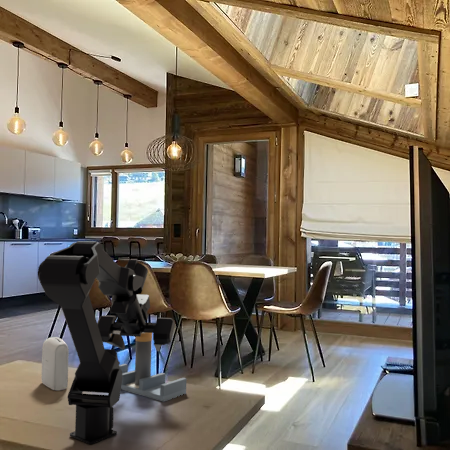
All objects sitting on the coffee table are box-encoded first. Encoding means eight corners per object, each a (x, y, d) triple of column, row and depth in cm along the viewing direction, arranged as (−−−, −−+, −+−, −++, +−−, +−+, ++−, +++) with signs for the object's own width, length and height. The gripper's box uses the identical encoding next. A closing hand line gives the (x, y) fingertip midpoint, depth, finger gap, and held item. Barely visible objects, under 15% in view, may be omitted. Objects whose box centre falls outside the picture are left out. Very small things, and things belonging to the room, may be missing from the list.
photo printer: (39, 382, 125) (40, 335, 125) (55, 380, 127) (56, 333, 128) (52, 392, 117) (54, 341, 117) (69, 389, 120) (71, 340, 120)
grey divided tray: (163, 401, 111) (164, 385, 111) (101, 383, 125) (101, 369, 125) (186, 393, 118) (186, 378, 118) (124, 377, 131) (124, 363, 131)
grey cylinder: (148, 386, 119) (150, 334, 120) (132, 385, 119) (133, 333, 120) (152, 381, 123) (153, 331, 124) (136, 380, 124) (137, 330, 124)
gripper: (173, 285, 114) (182, 324, 125) (100, 283, 117) (115, 321, 127) (164, 322, 106) (175, 361, 116) (85, 319, 109) (102, 357, 119)
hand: (141, 348), depth 120 cm, fingers open, 9 cm apart
